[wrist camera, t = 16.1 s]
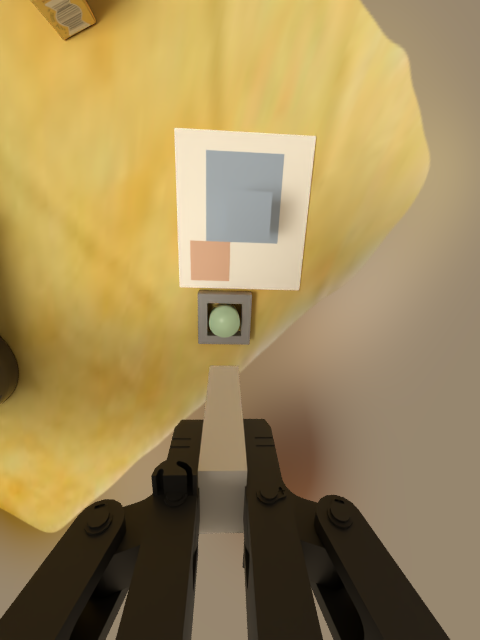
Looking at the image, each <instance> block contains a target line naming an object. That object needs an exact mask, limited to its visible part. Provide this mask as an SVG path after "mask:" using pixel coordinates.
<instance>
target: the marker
mask: <svg viewBox="0 0 480 640" xmlns="http://www.w3.org/2000/svg"><path fill="white" fill-rule="evenodd" d="M272 193H273V192H261V191H242V190H227V198H226V238H242V239H266V240H269V233H270V220H271V206H272Z"/></svg>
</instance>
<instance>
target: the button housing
mask: <svg viewBox="0 0 480 640" xmlns="http://www.w3.org/2000/svg"><path fill="white" fill-rule="evenodd" d="M208 303H226V304H241V328H240V331H237V332H236V333H235V334H234V335H232V336H230V337H219V336H217V335H215V334H214V333H213V332H212V331H211V330H208ZM251 305H252V294H251V292H247V291H209V290H199V292H198V344H249V342H250V324H251Z"/></svg>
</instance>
